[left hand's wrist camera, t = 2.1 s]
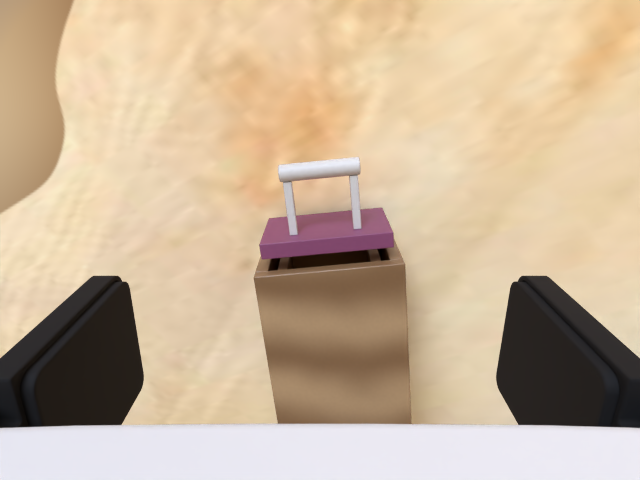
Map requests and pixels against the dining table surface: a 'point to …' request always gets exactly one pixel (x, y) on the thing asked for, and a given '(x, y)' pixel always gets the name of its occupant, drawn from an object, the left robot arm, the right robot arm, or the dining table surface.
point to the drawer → (325, 223)
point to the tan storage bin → (337, 341)
